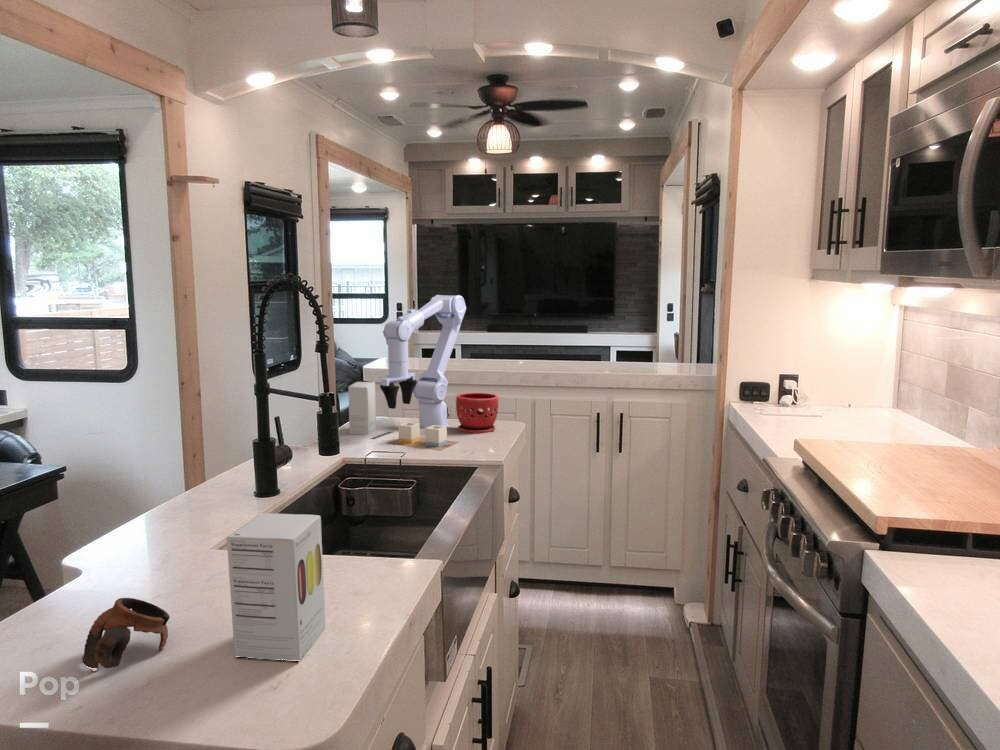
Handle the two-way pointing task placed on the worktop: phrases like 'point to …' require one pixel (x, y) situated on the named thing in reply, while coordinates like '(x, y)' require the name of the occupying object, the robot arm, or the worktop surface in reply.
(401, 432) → the cream square sleeve
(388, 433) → the mat
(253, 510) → the worktop surface
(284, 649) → the supplement box
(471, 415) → the plant pot
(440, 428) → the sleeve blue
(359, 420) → the skincare box
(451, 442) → the pin board
